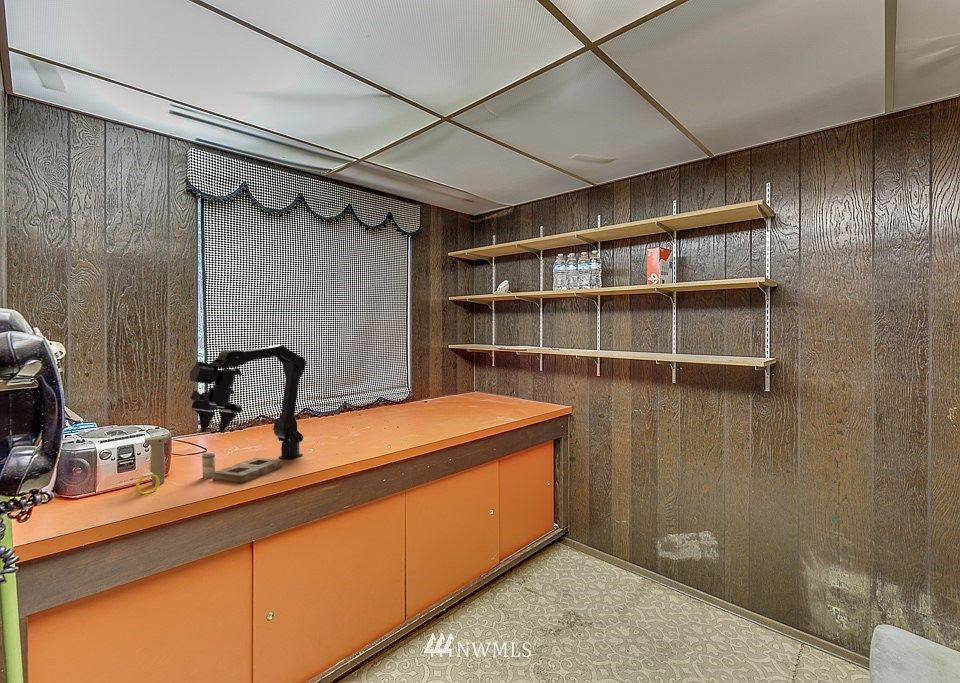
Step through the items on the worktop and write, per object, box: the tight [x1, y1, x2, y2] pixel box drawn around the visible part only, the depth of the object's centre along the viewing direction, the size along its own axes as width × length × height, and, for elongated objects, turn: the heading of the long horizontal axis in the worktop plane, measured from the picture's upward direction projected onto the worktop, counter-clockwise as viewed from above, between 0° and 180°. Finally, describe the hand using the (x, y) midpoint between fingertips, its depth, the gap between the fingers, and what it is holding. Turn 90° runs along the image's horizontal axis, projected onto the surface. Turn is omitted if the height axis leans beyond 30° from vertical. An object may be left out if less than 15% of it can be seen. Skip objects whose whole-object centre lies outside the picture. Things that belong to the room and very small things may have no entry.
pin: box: [201, 451, 216, 479], centre depth 154 cm, size 4×4×8 cm
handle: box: [144, 434, 170, 486], centre depth 147 cm, size 5×6×15 cm
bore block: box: [212, 457, 283, 484], centre depth 158 cm, size 18×12×2 cm, turn 163°
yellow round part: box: [135, 472, 161, 495], centre depth 139 cm, size 6×3×6 cm, turn 151°
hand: (212, 432), depth 153 cm, fingers open, 9 cm apart
